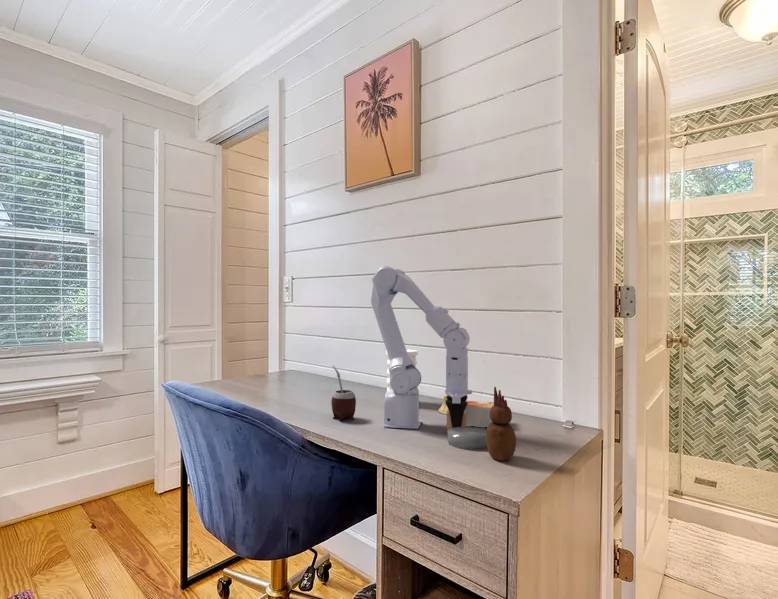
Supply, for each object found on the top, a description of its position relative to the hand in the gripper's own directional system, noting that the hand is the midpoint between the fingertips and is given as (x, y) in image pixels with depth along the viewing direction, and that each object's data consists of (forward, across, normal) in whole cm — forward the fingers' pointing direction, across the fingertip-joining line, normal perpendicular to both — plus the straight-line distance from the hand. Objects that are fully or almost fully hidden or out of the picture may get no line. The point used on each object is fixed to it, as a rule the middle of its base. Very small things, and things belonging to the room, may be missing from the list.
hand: (456, 425), depth 113 cm
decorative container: (+2, +30, +19) cm, 36 cm away
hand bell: (+2, +21, +2) cm, 21 cm away
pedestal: (+1, -10, -3) cm, 11 cm away
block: (+1, 0, 0) cm, 1 cm away
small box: (-1, +8, -12) cm, 14 cm away
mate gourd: (+2, +6, +33) cm, 34 cm away
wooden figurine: (+2, -20, -10) cm, 22 cm away
